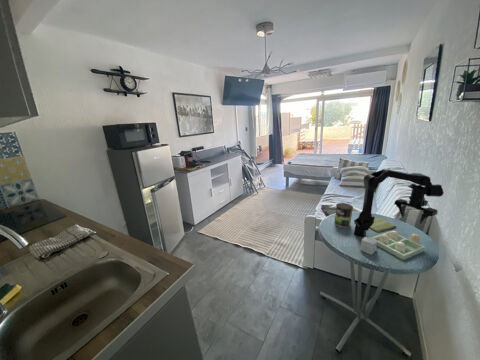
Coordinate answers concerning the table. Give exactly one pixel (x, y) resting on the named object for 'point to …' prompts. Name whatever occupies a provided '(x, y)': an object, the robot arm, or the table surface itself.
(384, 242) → the egg
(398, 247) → the egg
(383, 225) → the washcloth
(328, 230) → the table surface
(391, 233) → the egg
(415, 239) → the brown egg
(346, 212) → the coffee can
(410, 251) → the egg tray
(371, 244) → the skincare box
